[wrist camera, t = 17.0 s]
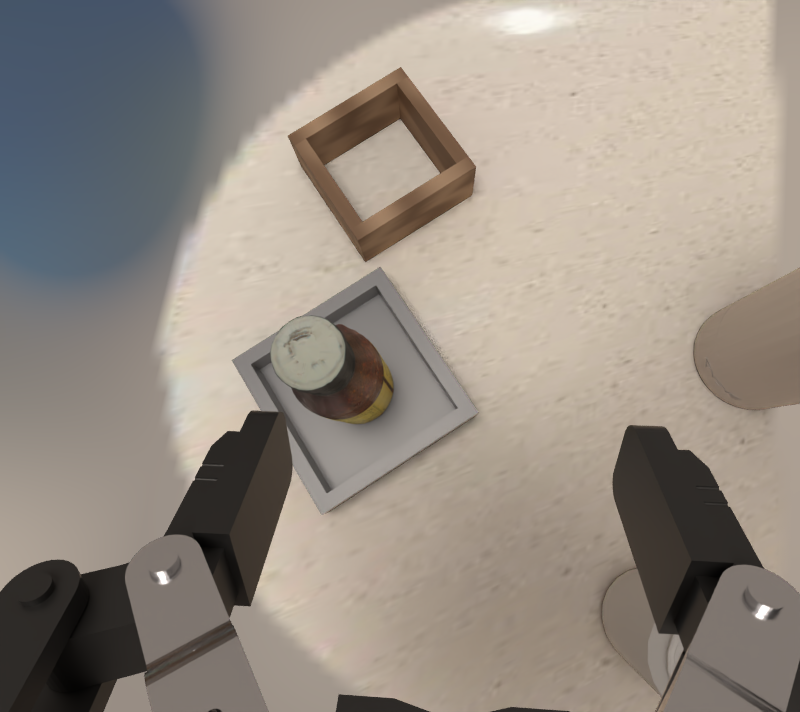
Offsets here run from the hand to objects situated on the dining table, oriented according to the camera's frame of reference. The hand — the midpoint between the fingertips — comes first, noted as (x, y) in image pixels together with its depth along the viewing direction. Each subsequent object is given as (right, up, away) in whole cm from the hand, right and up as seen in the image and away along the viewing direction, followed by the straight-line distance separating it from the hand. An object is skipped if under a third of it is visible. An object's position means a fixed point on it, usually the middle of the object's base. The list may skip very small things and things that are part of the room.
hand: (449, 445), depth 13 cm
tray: (-5, -1, +36) cm, 36 cm away
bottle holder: (-3, +19, +39) cm, 44 cm away
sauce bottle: (-5, -1, +35) cm, 35 cm away
